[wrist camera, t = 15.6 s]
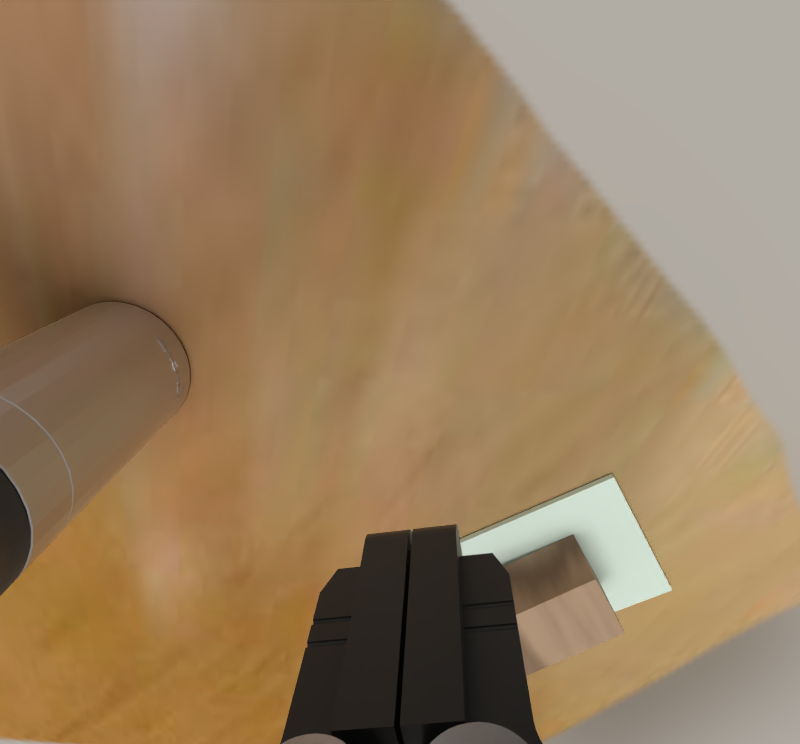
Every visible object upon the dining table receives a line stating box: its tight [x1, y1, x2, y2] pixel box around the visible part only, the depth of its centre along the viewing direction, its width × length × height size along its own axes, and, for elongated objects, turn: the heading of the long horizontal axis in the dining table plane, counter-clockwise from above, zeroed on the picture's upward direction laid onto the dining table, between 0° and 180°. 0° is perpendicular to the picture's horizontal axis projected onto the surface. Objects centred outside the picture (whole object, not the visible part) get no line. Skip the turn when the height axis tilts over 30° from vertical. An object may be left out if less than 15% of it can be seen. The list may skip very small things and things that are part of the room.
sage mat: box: [460, 474, 672, 612], centre depth 44 cm, size 14×11×1 cm
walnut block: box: [503, 534, 625, 676], centre depth 42 cm, size 5×5×12 cm
